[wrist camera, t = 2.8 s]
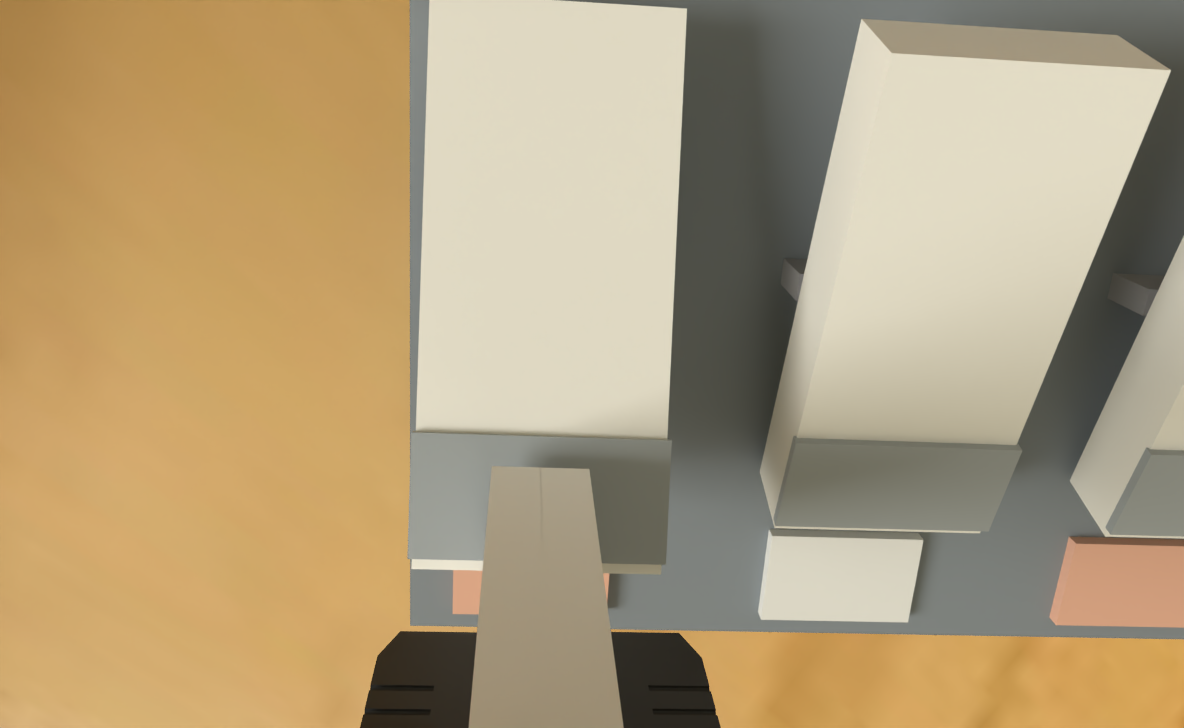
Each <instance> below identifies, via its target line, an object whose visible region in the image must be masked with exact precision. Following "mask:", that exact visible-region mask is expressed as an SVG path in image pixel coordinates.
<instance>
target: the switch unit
mask: <svg viewBox="0 0 1184 728" xmlns="http://www.w3.org/2000/svg"><path fill="white" fill-rule="evenodd" d="M560 1H576V2H592V3H607V4H623V5H639V6H654V7H670V8H686V9H687V19H686V41H685V62H684V84H683V106H682V128H681V150H680V172H679V194H678V215H677V237H676V259H675V281H674V303H673V325H672V347H671V369H670V390H669V412H668V434H667V439H670V440H671V441H672V446H671V468H670V490H669V511H668V533H667V555H666V565H661V575H659V574H614V573H603V576H604V584H605V591H606V599H607V606H608V614H609V621H610V629H635V630H692V631H748V632H805V633H861V634H917V635H974V636H1030V637H1087V638H1143V639H1184V539H1180V538H1141V537H1105V536H1104V534H1103V532H1102V531H1101V529H1100V528H1099V526H1098V525H1097V523H1096V521H1095V520H1094V518H1093V517H1092V515H1091V514H1090V512H1089V511H1088V509H1087V507H1086V506H1085V504H1084V503H1083V501H1082V500H1081V498H1080V496H1079V495H1078V493H1077V492H1076V490H1075V489H1074V487H1073V485H1072V484H1071V482H1070V479H1071V477H1072V475H1073V472H1074V470H1075V468H1076V466H1077V464H1078V462H1079V459H1080V457H1081V455H1082V453H1083V451H1084V449H1085V447H1086V444H1087V442H1088V440H1089V438H1090V436H1091V434H1092V432H1093V429H1094V427H1095V425H1096V423H1097V421H1098V419H1099V417H1100V414H1101V412H1102V410H1103V408H1104V406H1105V404H1106V401H1107V399H1108V397H1109V395H1110V393H1111V391H1112V389H1113V386H1114V384H1115V382H1116V380H1117V378H1118V376H1119V374H1120V371H1121V369H1122V367H1123V365H1124V363H1125V361H1126V359H1127V356H1128V354H1129V352H1130V350H1131V348H1132V346H1133V343H1134V341H1135V339H1136V337H1137V335H1138V333H1139V331H1140V328H1141V326H1142V324H1143V322H1144V320H1145V318H1146V316H1147V313H1148V311H1149V309H1150V307H1151V305H1152V303H1153V301H1154V298H1155V296H1156V294H1157V292H1158V290H1159V288H1160V285H1161V283H1162V281H1163V279H1164V277H1165V275H1166V273H1167V270H1168V268H1169V266H1170V264H1171V262H1172V260H1173V258H1174V255H1175V253H1176V251H1177V249H1178V247H1179V245H1180V243H1181V240H1182V238H1183V236H1184V0H560ZM861 19H873V20H889V21H905V22H920V23H936V24H951V25H967V26H983V27H998V28H1014V29H1030V30H1045V31H1061V32H1077V33H1092V34H1108V35H1118V36H1120V37H1121V38H1123V39H1124V40H1126V41H1127V42H1129V43H1130V44H1132V45H1133V46H1135V47H1136V48H1138V49H1139V50H1141V51H1142V52H1144V53H1145V54H1147V55H1149V56H1150V57H1152V58H1153V59H1155V60H1156V61H1158V62H1159V63H1161V64H1162V65H1164V66H1165V67H1167V68H1168V69H1170V70H1171V72H1170V75H1169V77H1168V79H1167V82H1166V84H1165V87H1164V89H1163V92H1162V94H1161V96H1160V99H1159V101H1158V104H1157V106H1156V108H1155V111H1154V113H1153V116H1152V118H1151V121H1150V123H1149V125H1148V128H1147V130H1146V133H1145V135H1144V138H1143V140H1142V142H1141V145H1140V147H1139V150H1138V152H1137V154H1136V157H1135V159H1134V162H1133V164H1132V167H1131V169H1130V171H1129V174H1128V176H1127V179H1126V181H1125V184H1124V186H1123V188H1122V191H1121V193H1120V196H1119V198H1118V200H1117V203H1116V205H1115V208H1114V210H1113V213H1112V215H1111V217H1110V220H1109V222H1108V225H1107V227H1106V229H1105V232H1104V234H1103V237H1102V239H1101V242H1100V244H1099V246H1098V249H1097V251H1096V254H1095V256H1094V259H1093V261H1092V263H1091V266H1090V268H1089V271H1088V273H1087V275H1086V278H1085V280H1084V283H1083V285H1082V288H1081V290H1080V292H1079V295H1078V297H1077V300H1076V302H1075V305H1074V307H1073V309H1072V312H1071V314H1070V317H1069V319H1068V321H1067V324H1066V326H1065V329H1064V331H1063V334H1062V336H1061V338H1060V341H1059V343H1058V346H1057V348H1056V351H1055V353H1054V355H1053V358H1052V360H1051V363H1050V365H1049V367H1048V370H1047V372H1046V375H1045V377H1044V380H1043V382H1042V384H1041V387H1040V389H1039V392H1038V394H1037V397H1036V399H1035V401H1034V404H1033V406H1032V409H1031V411H1030V413H1029V416H1028V418H1027V421H1026V423H1025V426H1024V428H1023V430H1022V433H1021V435H1020V438H1019V440H1018V444H1019V446H1020V447H1021V449H1022V453H1021V455H1020V458H1019V460H1018V462H1017V465H1016V467H1015V470H1014V472H1013V474H1012V477H1011V479H1010V481H1009V484H1008V486H1007V489H1006V491H1005V493H1004V496H1003V498H1002V501H1001V503H1000V505H999V508H998V510H997V512H996V515H995V517H994V520H993V522H992V524H991V527H990V529H989V532H986V531H981V532H980V533H945V532H905V531H866V530H827V529H788V528H774V524H773V520H772V516H771V513H770V509H769V505H768V501H767V498H766V494H765V490H764V486H763V482H762V479H761V475H760V468H761V464H762V459H763V455H764V450H765V446H766V441H767V437H768V432H769V428H770V423H771V419H772V415H773V410H774V406H775V401H776V397H777V392H778V388H779V383H780V379H781V375H782V370H783V366H784V361H785V357H786V352H787V348H788V343H789V339H790V334H791V330H792V326H793V321H794V317H795V312H796V308H797V303H798V299H799V294H800V290H801V285H802V281H803V277H804V272H805V268H806V263H807V259H808V254H809V250H810V245H811V241H812V237H813V232H814V228H815V223H816V219H817V214H818V210H819V205H820V201H821V196H822V192H823V188H824V183H825V179H826V174H827V170H828V165H829V161H830V156H831V152H832V147H833V143H834V139H835V134H836V130H837V125H838V121H839V116H840V112H841V107H842V103H843V98H844V94H845V90H846V85H847V81H848V76H849V72H850V67H851V63H852V58H853V54H854V50H855V45H856V41H857V36H858V32H859V27H860V23H861ZM428 28H429V0H410V465H411V433H412V431H416V408H417V377H418V345H419V313H420V281H421V250H422V218H423V186H424V155H425V123H426V91H427V59H428ZM411 567H412V559H410V626H466V627H478V616H479V605H480V593H481V582H482V571H476V570H430V569H411Z"/></svg>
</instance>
